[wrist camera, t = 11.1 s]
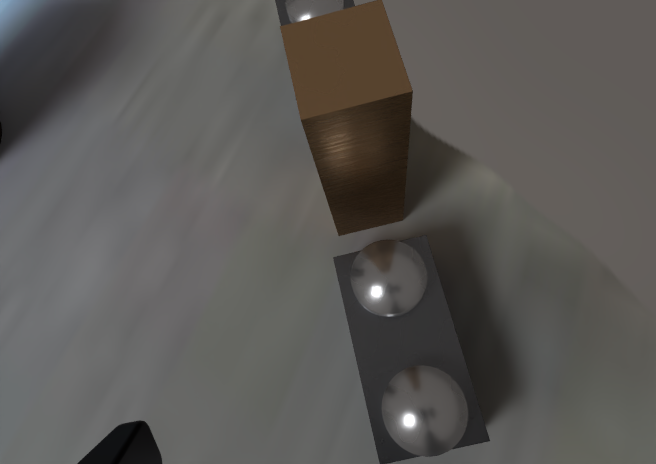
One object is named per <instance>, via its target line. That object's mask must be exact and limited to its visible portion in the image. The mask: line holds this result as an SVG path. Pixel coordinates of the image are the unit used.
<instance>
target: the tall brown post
mask: <svg viewBox="0 0 656 464" xmlns="http://www.w3.org/2000/svg"><path fill="white" fill-rule="evenodd" d="M280 28H281V33H282V37H283V42H284V46H285V51H286V55H287V59H288V64H289V68H290V73H291V77H292V82H293V86H294V91H295V95H296V100H297V104H298V109H299V113H300V118H301V122H302V125H303V128H304V131H305V134H306V137H307V140H308V143H309V146H310V149H311V152H312V155H313V158H314V161H315V165H316V168H317V171H318V174H319V177H320V180H321V183H322V186H323V189H324V192H325V195H326V198H327V201H328V204H329V208H330V211H331V214H332V217H333V220H334V223H335V226H336V229H337V232H338V235H339V236H341V235H345V234H349V233H353V232H357V231H361V230H365V229H369V228H374V227H378V226H382V225H386V224H390V223H394V222H398V221H402V220H403V211H404V198H405V185H406V172H407V159H408V146H409V133H410V120H411V105H412V93H413V91H412V88H411V85H410V82H409V79H408V76H407V73H406V70H405V67H404V64H403V61H402V58H401V55H400V52H399V49H398V46H397V43H396V40H395V38H394V35H393V32H392V29H391V26H390V23H389V20H388V17H387V14H386V11H385V8H384V5H383V2H382V0H377V1H373V2H369V3H365V4H362V5H358V6H354V7H351V8H347V9H343V10H339V11H336V12H332V13H328V14H324V15H321V16H317V17H313V18H310V19H306V20H302V21H298V22H295V23H291V24H287V25H284V26H280Z"/></svg>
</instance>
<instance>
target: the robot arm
mask: <svg viewBox="0 0 656 464" xmlns="http://www.w3.org/2000/svg"><path fill="white" fill-rule="evenodd" d="M77 464H162V458H161V454H160V451H159V449H158V447H157V444H156V442H155V440H154V437H153V435H152V433H151V430H150V428H149V426H148V424H147V423H146V422H145V421H134V422H129V423H124V424H121V425H119V426H117V427H116V428H115V429H114V430H113V431H112V432H111V433H109V434H108V435H107V436H106V437H105V438H104V439H103V440H102V441H101V442H100V443H99V444H98V445H97V446H96V447H95V448H93V449H92V450H91V451H90V452H89V453H88V454H87V455H86V456H85V457H84V458H83V459H82V460H81V461H80V462H79V463H77Z"/></svg>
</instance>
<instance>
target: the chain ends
mask: <svg viewBox="0 0 656 464" xmlns="http://www.w3.org/2000/svg"><path fill="white" fill-rule="evenodd" d="M275 1H276V6H277V10H278V15H279V19H280V23H281V26H284V25H287V24H291V23H295V22H298V21H302V20H306V19H310V18H313V17H317V16H321V15H324V14H328V13H332V12H336V11H339V10H343V9H347V8H351V7H354V6H355V5H354V1H353V0H275ZM333 258H334V263H335V267H336V272H337V276H338V281H339V285H340V289H341V294H342V298H343V303H344V307H345V312H346V316H347V321H348V325H349V329H350V334H351V338H352V343H353V347H354V352H355V356H356V360H357V365H358V369H359V374H360V378H361V383H362V387H363V391H364V396H365V400H366V405H367V409H368V414H369V418H370V422H371V427H372V431H373V436H374V440H375V445H376V449H377V454H378V458H379V462H380V464H387V463H391V462H396V461H401V460H405V459H410V458H414V457H419V456H437V455H441V454H443V453H445V452H448V451H449V450H451V449H456V448H460V447H465V446H469V445H474V444H478V443H483V442H488V441H490V439H489V436H488V433H487V430H486V426H485V423H484V420H483V417H482V414H481V410H480V407H479V404H478V401H477V398H476V394H475V391H474V388H473V385H472V381H471V378H470V375H469V372H468V369H467V365H466V362H465V359H464V356H463V352H462V349H461V346H460V343H459V340H458V336H457V333H456V330H455V327H454V323H453V320H452V317H451V314H450V311H449V307H448V304H447V301H446V298H445V294H444V291H443V288H442V285H441V282H440V278H439V275H438V272H437V269H436V265H435V262H434V259H433V256H432V253H431V249H430V246H429V243H428V240H427V236H426V235H424V236H420V237H416V238H411V239H407V240H403V241H395V240H382V241H377V242H374V243H372V244H370V245H368V246H367V247H365V248H364V249H363V250H362V251H358V252H354V253H349V254H345V255H341V256H337V257H333Z"/></svg>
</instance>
